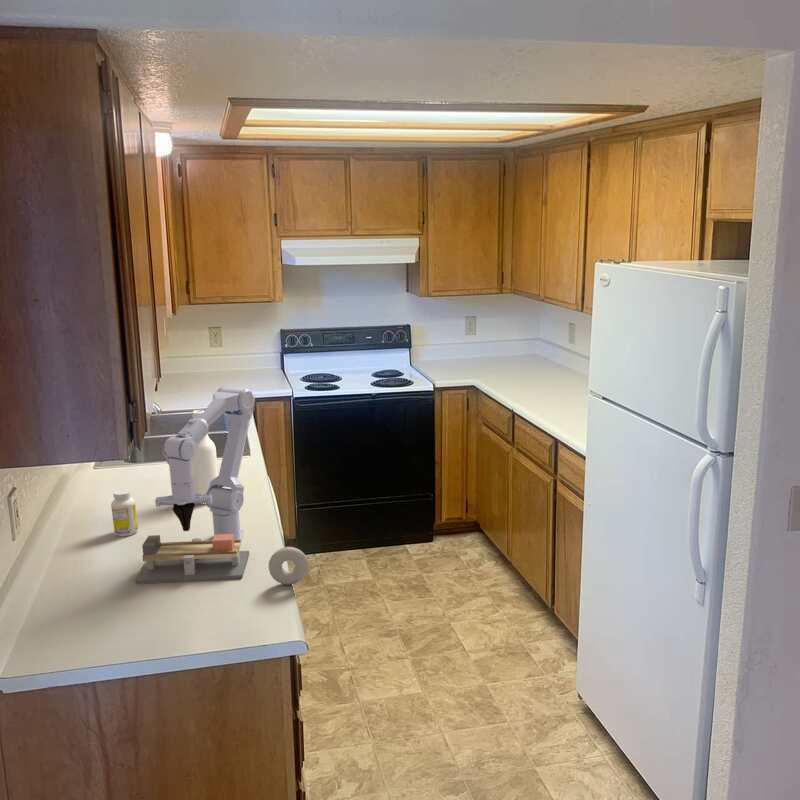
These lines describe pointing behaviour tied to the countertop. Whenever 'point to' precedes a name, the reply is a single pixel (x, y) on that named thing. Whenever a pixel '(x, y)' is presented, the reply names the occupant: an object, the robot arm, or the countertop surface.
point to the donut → (286, 555)
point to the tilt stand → (193, 569)
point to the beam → (183, 549)
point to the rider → (223, 542)
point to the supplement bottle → (124, 513)
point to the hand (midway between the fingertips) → (186, 529)
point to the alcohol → (203, 462)
